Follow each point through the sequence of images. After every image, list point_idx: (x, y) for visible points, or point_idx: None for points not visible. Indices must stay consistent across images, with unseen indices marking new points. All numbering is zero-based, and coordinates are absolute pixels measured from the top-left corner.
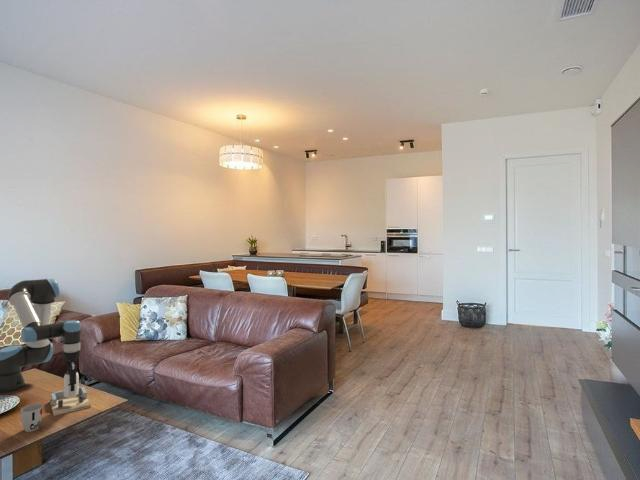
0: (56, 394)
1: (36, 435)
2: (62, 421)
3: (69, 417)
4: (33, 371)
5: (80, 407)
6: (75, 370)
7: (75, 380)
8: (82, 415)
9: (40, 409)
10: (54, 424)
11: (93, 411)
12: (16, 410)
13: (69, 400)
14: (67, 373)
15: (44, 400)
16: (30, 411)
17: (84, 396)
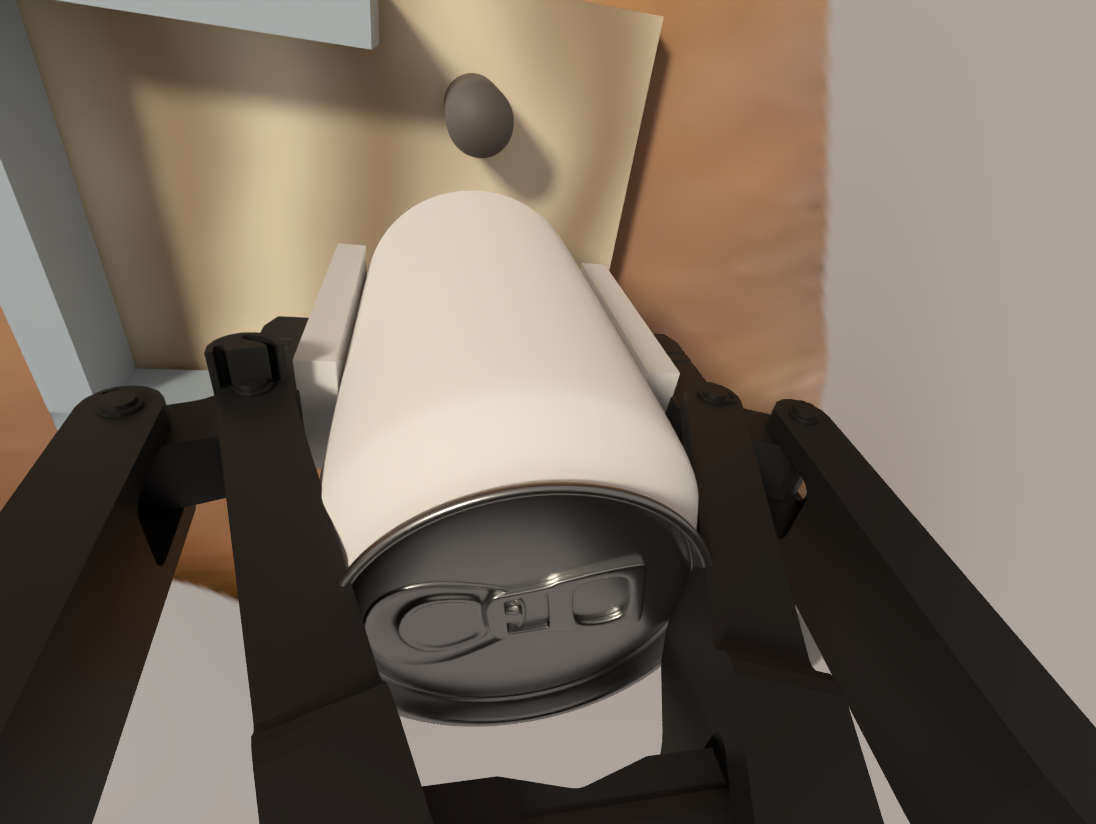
0: (105, 378)
1: (802, 495)
2: (750, 353)
3: (724, 294)
4: None
5: (629, 162)
6: (1088, 742)
7: (860, 467)
8: (794, 182)
9: None
10: (748, 405)
11: (811, 37)
12: (230, 587)
13: (304, 229)
14: (474, 675)
15: (39, 422)
16: (818, 657)
17: (377, 28)
